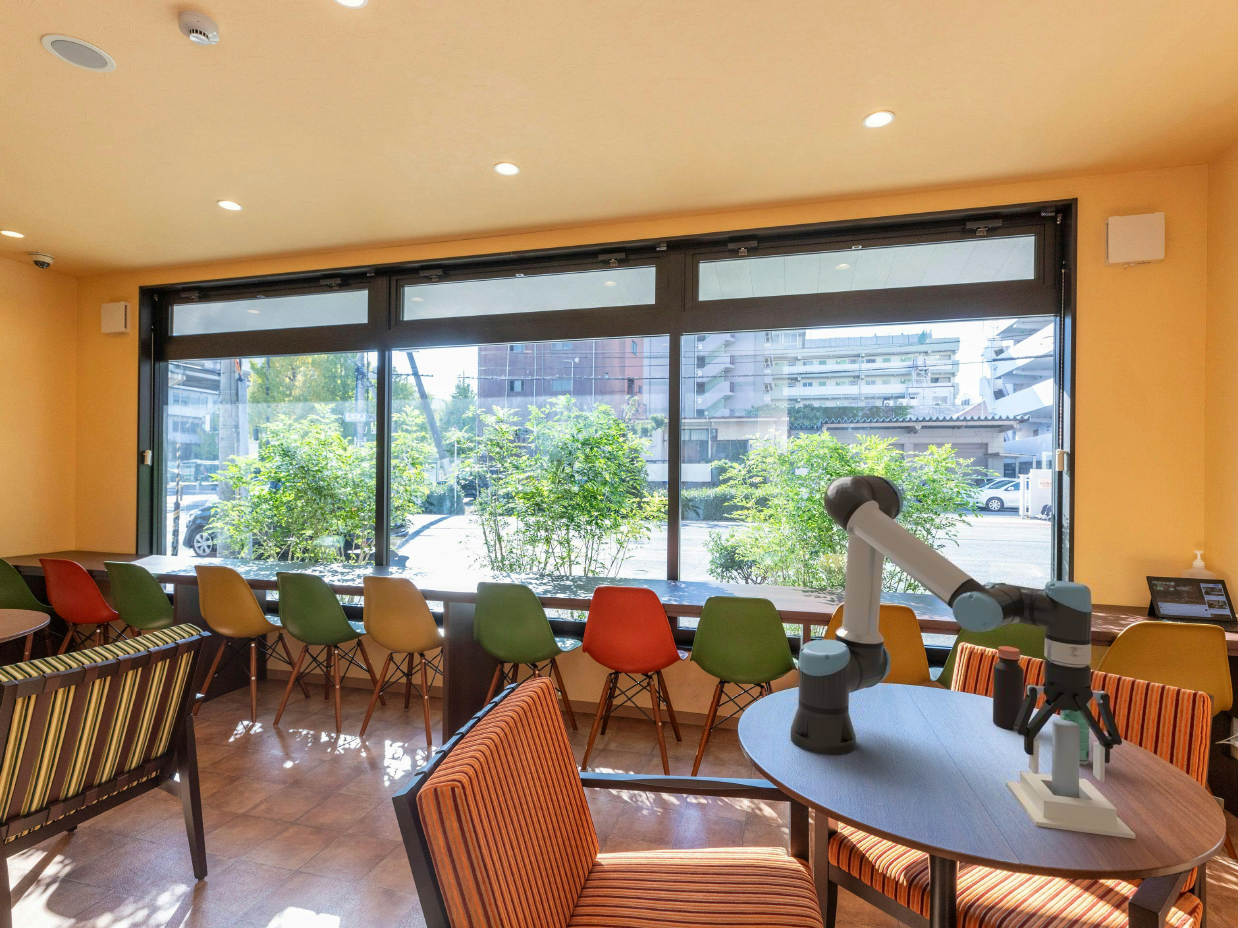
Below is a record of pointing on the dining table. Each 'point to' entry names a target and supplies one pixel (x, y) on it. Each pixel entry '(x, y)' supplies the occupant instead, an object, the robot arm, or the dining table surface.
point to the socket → (1067, 807)
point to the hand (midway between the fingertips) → (1065, 774)
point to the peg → (1065, 758)
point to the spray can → (1084, 731)
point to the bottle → (1007, 687)
